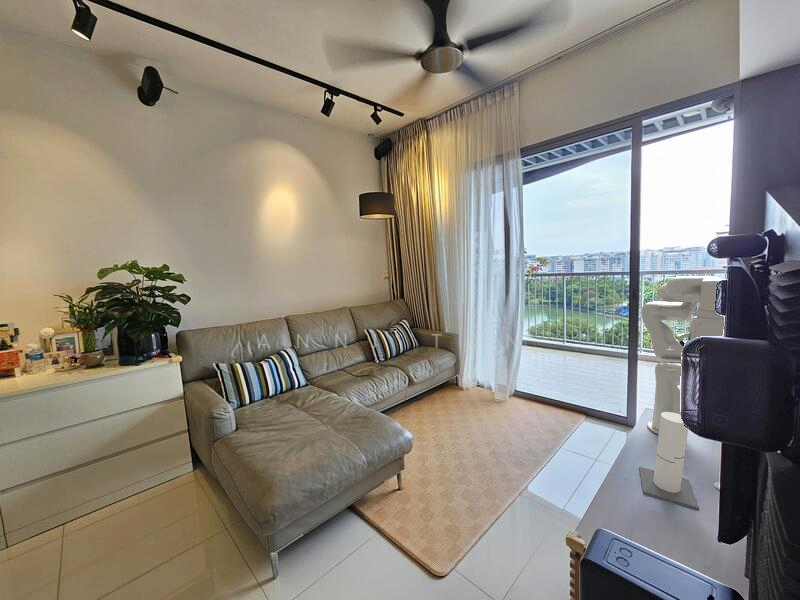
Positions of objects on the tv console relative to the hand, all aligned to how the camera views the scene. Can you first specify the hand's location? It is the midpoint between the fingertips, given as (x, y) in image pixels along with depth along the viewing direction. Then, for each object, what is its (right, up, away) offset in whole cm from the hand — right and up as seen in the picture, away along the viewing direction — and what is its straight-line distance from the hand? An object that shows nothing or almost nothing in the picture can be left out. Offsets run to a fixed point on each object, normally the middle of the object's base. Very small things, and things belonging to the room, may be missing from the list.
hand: (705, 361), depth 116 cm
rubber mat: (-18, -42, -5) cm, 46 cm away
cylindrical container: (-18, -42, -5) cm, 45 cm away
